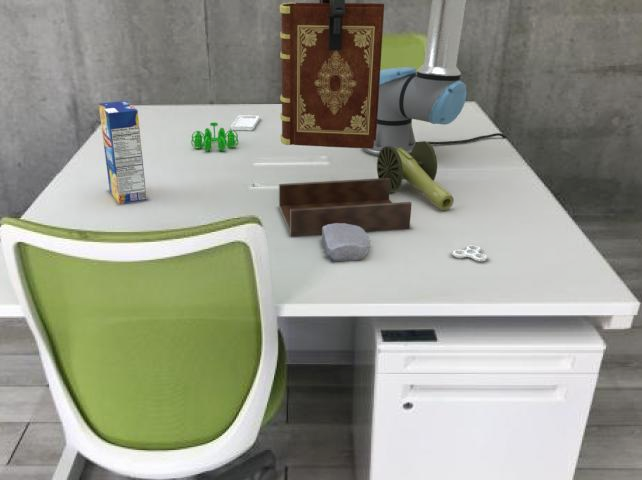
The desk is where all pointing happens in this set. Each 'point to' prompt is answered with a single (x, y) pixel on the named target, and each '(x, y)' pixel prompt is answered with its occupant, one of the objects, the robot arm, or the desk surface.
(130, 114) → the beverage box
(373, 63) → the decorative book
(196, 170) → the desk surface
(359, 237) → the stone block
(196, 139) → the chandelier
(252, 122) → the phone case
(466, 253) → the fidget spinner
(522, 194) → the desk surface
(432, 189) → the cannon
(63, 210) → the desk surface
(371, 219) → the book rack
